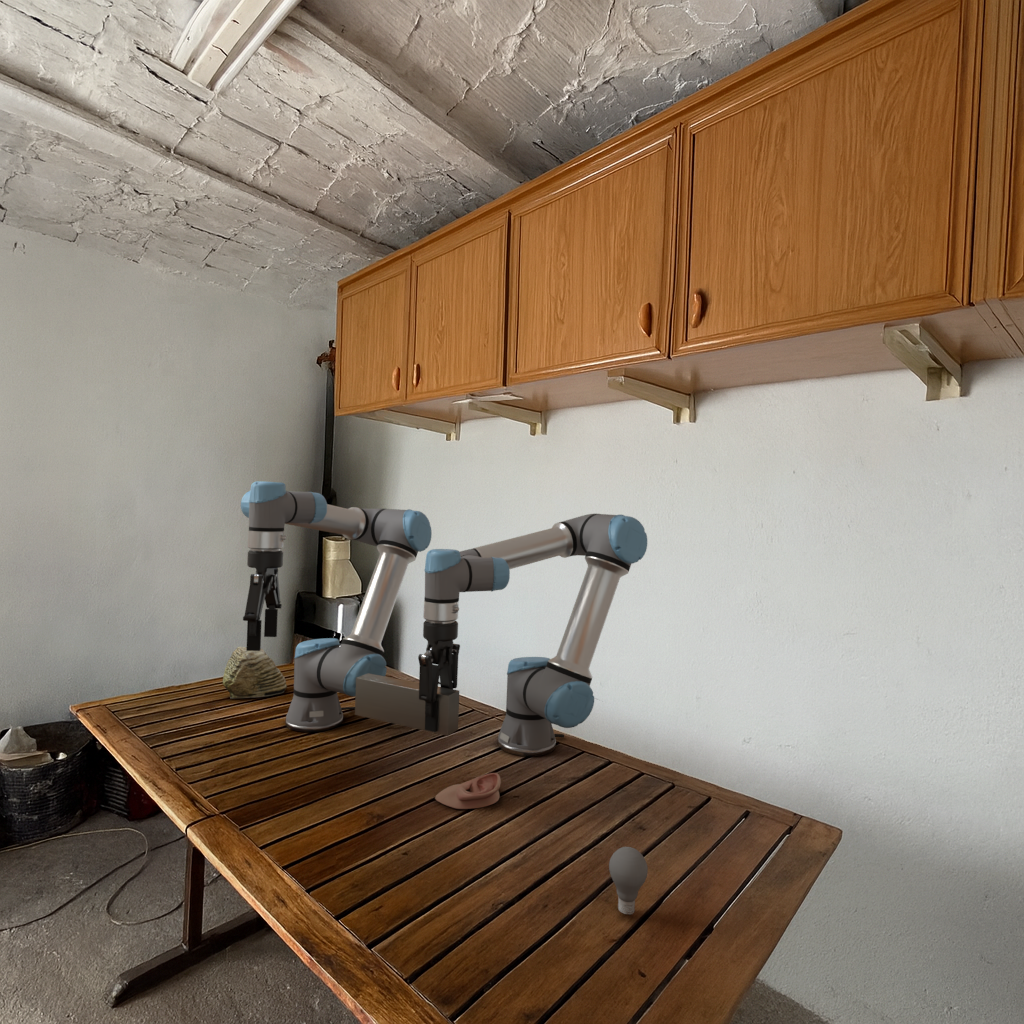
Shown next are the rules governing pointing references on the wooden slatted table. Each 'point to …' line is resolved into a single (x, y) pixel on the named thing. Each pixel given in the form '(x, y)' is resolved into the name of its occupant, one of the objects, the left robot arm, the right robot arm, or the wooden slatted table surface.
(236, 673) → the fossil
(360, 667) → the left robot arm
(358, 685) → the bar
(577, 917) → the wooden slatted table surface
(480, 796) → the anatomical model
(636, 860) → the light bulb
